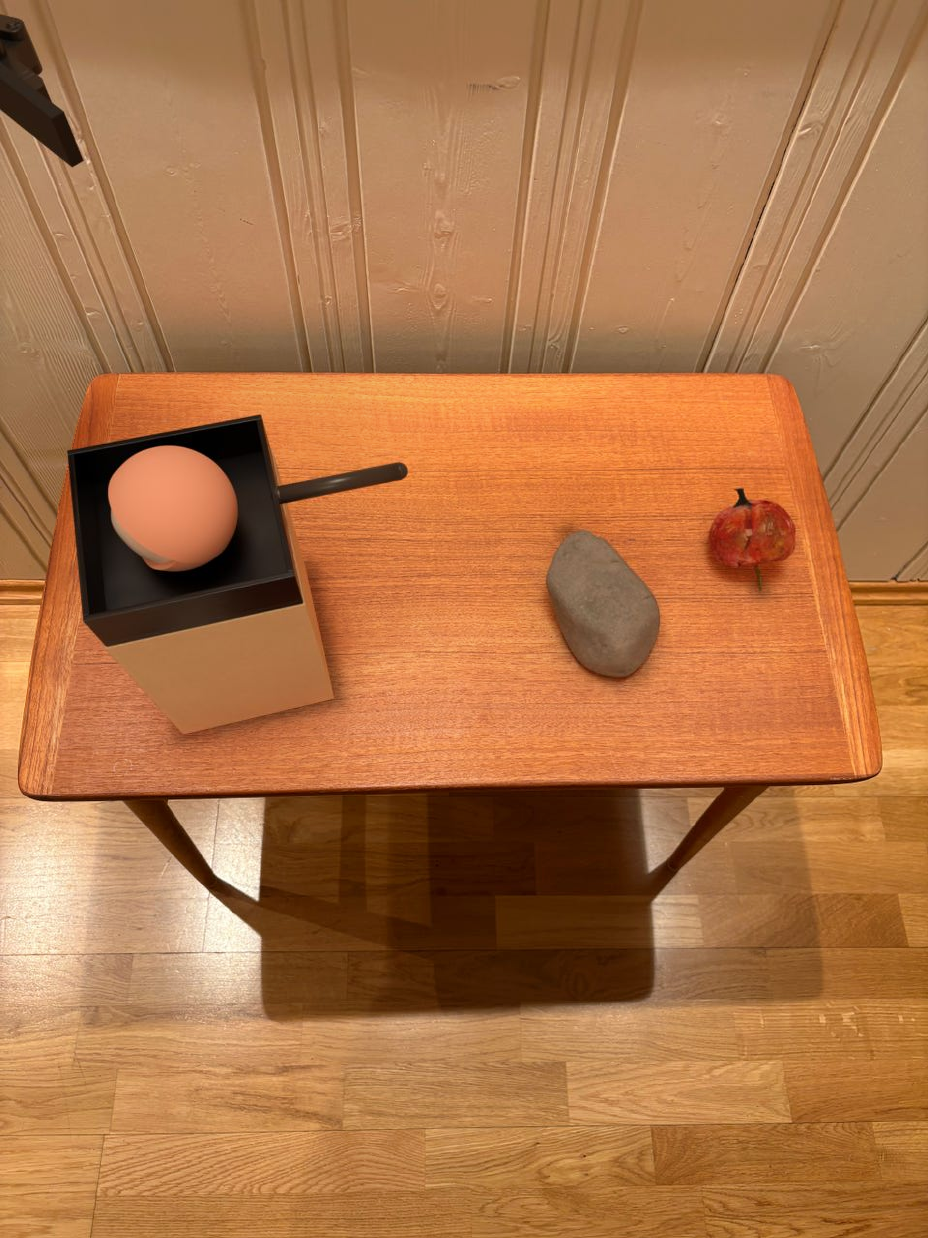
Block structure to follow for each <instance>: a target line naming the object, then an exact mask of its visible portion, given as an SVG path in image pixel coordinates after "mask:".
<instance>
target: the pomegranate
mask: <svg viewBox="0 0 928 1238" xmlns="http://www.w3.org/2000/svg"><path fill="white" fill-rule="evenodd" d="M733 490H734V491H736V493H737V495H738V499H737V501H736V502H735V503H734V504H733V505H732V506H729V507H726V508H724V509H723V510H721V511H719V512H718V514H717V515H716V516H715V518H714V520H713V522H712V523H711V526H710V529H709V531H708V532H709V534H708V540H709V541H708V543H709V547H710V551H711V552H712V554H713V555H714V557H715V559H717V561H719V562H720V563H721V564H724V565H727V566H728V567H731V568H734V569H735V568H736V569H738V568H742V567H744V566H747V567H754V571H755V573H756V577H757V580H758V585H759V590H760V591H763V586H762V579H761V578H762V577H761V571H760V568H759V566H760V565H762V564H766V563H771V562H783V561H785V560H787V559H788V558H789V557H790V556H792V555H793V553H795V550H796V545H797V543H796V530H797V528H796V525H795V523H794V520H793V519H792V517H791V516H790V514H789V513H788V512H787V510H785V508H784V507H783V506H782V505H781V504H779V503H776V502H774V501H772V500H768V499H757V500H755V499H748V498H747V496H746V493H745V488H744V487H738V488H737V487H736V488H733Z"/></svg>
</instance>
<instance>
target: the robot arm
mask: <svg viewBox="0 0 928 1238" xmlns="http://www.w3.org/2000/svg"><path fill="white" fill-rule="evenodd" d="M43 69H44V68H43V65H42V63H41V61H40V59H39V56H38V53H37V51H36V49H35V46H34V43H33V41H32V39H31V37H30V34H29V31H28V29H27V26H26V24H25V22H24V20H22V19H21V18H19V17H15V16H10V15H6V14H1V13H0V111H1V112H2V113H3V114H4V115H6V116H7V117H9V119H10V120H12V121H13V122H15V123H16V124H17V125H19V126H20V127H21V128H22V129H23V130H24V131H25V132H27V133H28V134H30V135H31V136H32V137H33V138H35V139H36V140H37V141H38V142H40V143H41V144H42V145H43V146H44V147H46V148H47V149H48V150H49V151H51V152H52V153H53V154H54V155H56V156H57V157H58V158H59V159H61V160H62V161H63V162H64V163H66V165H68V166H69V167H70V168H74V167H76V166H78V165H79V164H81V163H83V162H84V157H83V155H82V152H81V150H80V148H79V145H78V143H77V140H76V138H75V134H74V133H73V130H72V128H71V125H70V123H69V120H68V118H67V116H66V113H65V111H64V110H63V109H61V108H60V107H59V106H58V105H56V104H55V103H54V102H53V101H52V99H51V96H50V93H49V92H48V89H47V87H46V84H45V82H44V80H43V78H42V77H41V76H40V75H41V74H42V72H43Z"/></svg>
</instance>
